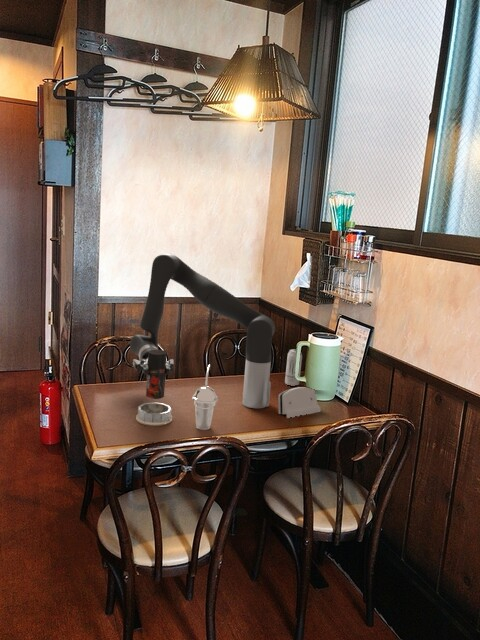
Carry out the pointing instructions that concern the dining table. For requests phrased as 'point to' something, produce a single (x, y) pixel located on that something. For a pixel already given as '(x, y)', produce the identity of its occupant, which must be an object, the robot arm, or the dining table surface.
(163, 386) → the deodorant
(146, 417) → the silver bowl
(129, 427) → the dining table surface
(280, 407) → the hinge
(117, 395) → the dining table surface
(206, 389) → the cup with straw
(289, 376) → the energy drink can
